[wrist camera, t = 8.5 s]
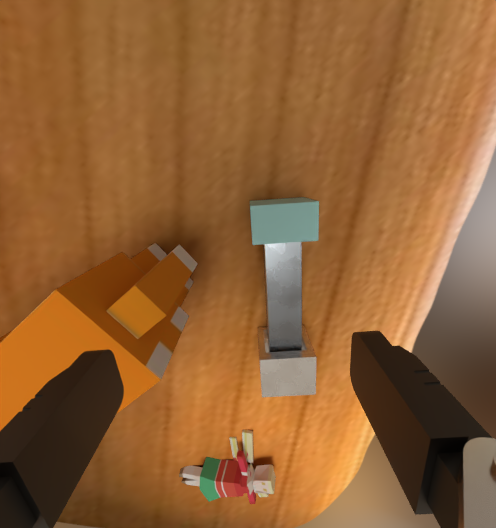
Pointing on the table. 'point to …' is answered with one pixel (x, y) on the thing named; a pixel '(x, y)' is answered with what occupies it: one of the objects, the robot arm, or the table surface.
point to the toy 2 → (232, 474)
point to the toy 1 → (101, 326)
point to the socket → (284, 220)
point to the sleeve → (287, 368)
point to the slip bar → (283, 296)
